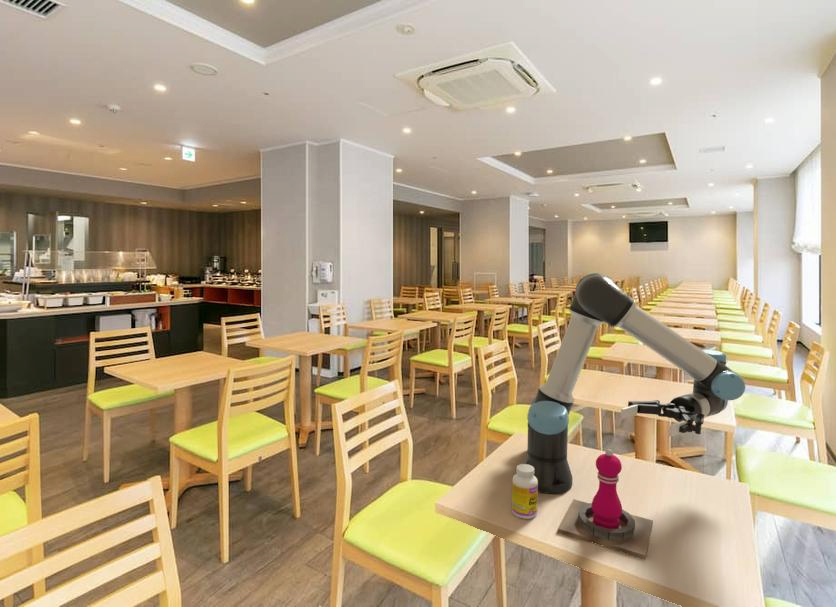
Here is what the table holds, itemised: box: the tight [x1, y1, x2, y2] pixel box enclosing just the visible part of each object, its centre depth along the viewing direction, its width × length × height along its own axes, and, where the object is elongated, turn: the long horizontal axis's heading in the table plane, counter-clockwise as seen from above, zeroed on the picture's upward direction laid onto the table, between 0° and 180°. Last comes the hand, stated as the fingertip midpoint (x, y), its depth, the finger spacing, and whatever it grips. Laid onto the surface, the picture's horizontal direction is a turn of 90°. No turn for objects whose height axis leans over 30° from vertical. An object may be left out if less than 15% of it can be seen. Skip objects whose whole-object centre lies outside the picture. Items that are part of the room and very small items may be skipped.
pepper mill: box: [591, 448, 623, 529], centre depth 118 cm, size 7×7×20 cm
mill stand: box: [557, 498, 654, 560], centre depth 119 cm, size 20×16×3 cm
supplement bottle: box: [511, 463, 538, 520], centre depth 126 cm, size 7×7×13 cm
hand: (645, 422), depth 124 cm, fingers open, 13 cm apart
